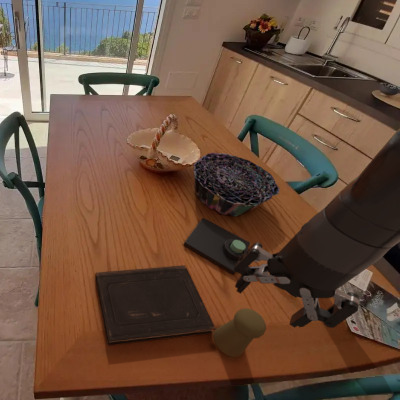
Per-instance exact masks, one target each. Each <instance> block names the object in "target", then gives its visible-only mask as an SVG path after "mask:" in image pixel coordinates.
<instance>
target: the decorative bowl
mask: <svg viewBox="0 0 400 400" xmlns="http://www.w3.org/2000/svg"><path fill="white" fill-rule="evenodd" d="M192 165H193V173H194V174H193V175H194V191H195V195H196V196H197V197H198V199H199V201H200V202H201V203H202V204H205V205H206V207H207V208H208V209H210V210H214V211H216V212H217V213H218V214H219V215H223V216H227V215H229V216H231V217H238V216H241V215H244V214H246V213H249V212H250V211H252V210H253V209H256V207H258V206H260V205H262V204H264V203H265V202H268V201H269V200H271V199H272V198H273V196H276V195H279V194H280V191H281V188H280V187H279V185H278V184H277V183H276V180H275V178H274V177H273V175H272V174H271V173H270V172H269V171H267V170H265V168H263V167H262V166H259V165H258V164H256V163H254V162H252V161H251V160H249V159H246V158H243V157H239V156H236V155H233V154H229V153H224V152H223V153H222V152H209V153H206V154H205V155H202V157H200V158H199V159H198V160H196V161H195V162H194V163H193V164H192Z"/></svg>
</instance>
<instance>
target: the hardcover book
mask: <svg viewBox="0 0 400 400" xmlns="http://www.w3.org/2000/svg"><path fill="white" fill-rule="evenodd" d="M94 278H95V283H96V288H97V289H96V290H97V295H98V300H99V306H100V310H101V317H102V321H103V326H104V332H105V337H106V343H107V346H113V345H122V344H123V345H124V344H129V343H139V342H146V341H156V340H165V339H173V338H180V337H189V336H190V337H191V336H197V335H198V336H199V335H206V334H213V331H212V330H214V331H215V330H216V329H217V328H216V327H215V324H214V322H213V319H212V318H211V316H210V314H209V312H208V310H207V307H206V306H205V303H204V301H203V299H202V297H201V295H200V293H199V291H198V288H197V287H196V284H195V282H194V280H193V278H192V276H191V274H190V272H189V270H188V268H187V265H172V266H161V267H148V268H136V269H125V270H123V269H122V270H111V271H98V272H95V275H94Z"/></svg>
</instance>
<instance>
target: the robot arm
mask: <svg viewBox="0 0 400 400" xmlns="http://www.w3.org/2000/svg"><path fill="white" fill-rule="evenodd" d="M399 243H400V128H399V129H397V130H396V132H395V133H394V134H393V135H392V136H391V137H390V139H388V141H387V142H386V143H385V144H384V145H383V146H382V148H381V149H379V151H378V152H377V153H376V154H375V156H373V158H372V159H371V160H370V161H369V163H368V164H367V165H366V166H365V168H364V169H363V170H362V172H361V173H360V174H359V175H358V176H357V177H355V178H354V179H353V180H351V181H350V182H349V183H347V185H346V186H344V188H342V189H341V190H340V191H339V192H338V193H337V194H336V195H335V196H334V198H333V199H331V201H330V202H329V203H328V204H327V205H326V206H325V207H324V208H323V209H321V210H320V211H319V212H317V213H316V214H315V215H313V216H312V217H311V218H310V219H309V220H308V221H307V222H305V223H304V224H303V225H302V226H301V228H300V229H299V231H298V232H296V234H295V235H293V237H292V238H291V239H290V240H289V241H288V242H287V243H286V244H285V245H284V246H283V247H282V248H281V249H280V250H279V251H278V252H276V253H275V252H274V253H270V252H269V251H267V250H266V249H264V248H263V247H264V245H263V244H262V243H260V242H258V241H256V242H254V243H253V244H252V245H251V246H249V247H248V250H247V251H246V252H245V253H244V255H243V256H242V257H241V258H240V259H239V260H238V262H237V264H236V266H235V268H234V271H235V272H236V274H240V276H239V278H238V279H237V280H236V283H235V285H234V287H235V288H236V292H237V293H238V294H240V295H241V294H242V293H243V292H244V291H245V290H246V289H247V288H248V287H249V285H251V283H256V282H259V283H260V284H273V286H275V287H276V288H278V289H281V290H283V291H285V292H287V294H289V295H291V296H292V297H294V298H300V299H301V301H302V306H303V307H301V308H300V309H298V310H297V311H296V312H294V313H293V314H292V315H291V316H290V320H289V323H288V324H289V326H291V327H293V328H297V327H299V328H304V327H306V326H307V325H308V324H310V323H312V322H317V321H318V322H321V323H323V325H324V326H325V327H327V328H330V329H333V328H335V327H337V326H339V325H340V324H341V323H343V322H344V321H346V320H347V319H348V318H350V317H351V316H352V315H354V314H356V313H357V312H359V306H360V296H359V294H358V293H355V292H353V291H350V292H349V291H348V292H347V293H346V292H344V291H342V290H340V289H339V288H341V287H343V286H344V285H345V284H347V283H349V282H351V280H352V279H354V278H355V277H357V276H358V275H360V274H362V272H364V271H365V270H367V269H369V268H370V267H372V266H373V265H374V264H376V263H377V262H378V261H379V260H381V259H382V258H383V257H384V256H385V255H386V254H387V253H388V252H389V251H390V250H391V249H392V248H393V247H394V246H396V245H397V244H399ZM261 261H266V262H267V263H261V264H260V265H256V266H250V265H252V264H253V262H254V263H259V262H261ZM331 298H333V299H334V301H333V304H332V305H330V306H329V307H328V308H327V309H325V308H322V307H320V301H319V299H331Z"/></svg>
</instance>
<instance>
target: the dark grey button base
mask: <svg viewBox="0 0 400 400" xmlns="http://www.w3.org/2000/svg"><path fill="white" fill-rule="evenodd" d="M234 240H239V241H241V242H243V243H244V244H245V246H246V248H245V249H244V251H243V252H242V253H235V252H233V251H232V250H231V248H230V245H231V244H232V242H233V241H234ZM182 245H183V246H184V247H185V248H187V249H189V250H190V251H192V252H194V253H195V254H197V255H199V256H200V257H202V258H204V259H205V260H207V261H209V262H211V263H212V264H214V265H216V266H218V268H220V269H222V270H224V271H225V272H228V273H229V274H231V275H233V276H234V275H235V274H237V272H235V271H234V268H235V266H236V264H237V262H238V260H239V259H240V258H241V257H242V256H243V255H244V253H245V252H246V251H247V250H248V249H249V248H250V245H251V242H250V241H248V240H246V239H245V238H243V237H240V236H239V235H237V234H236V233H233V232H231V231H229V230H227V229H226V228H224V227H221V226H220V225H218V224H216V223H214V222H212V221H210V220H208V219H206V218H204V217H202V218H201V219H200V221H199V222H198V223H197V225H196V226H195V227H194V229H193V230H192V231H191V233H190V234H189V235H188V237H187V239H186V240H185V241H184V242H183V244H182Z"/></svg>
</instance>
